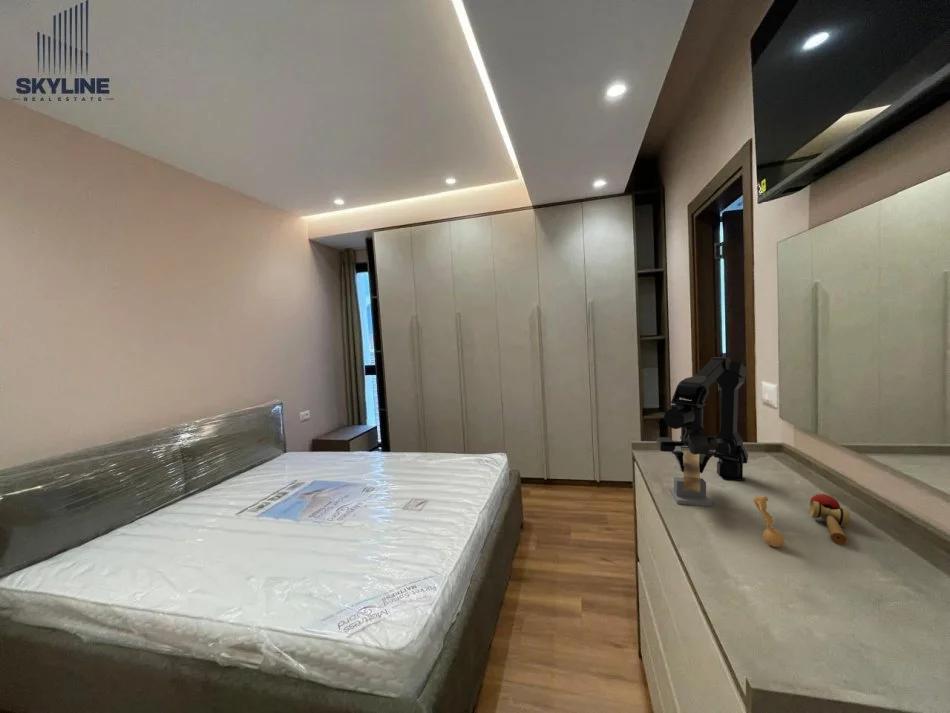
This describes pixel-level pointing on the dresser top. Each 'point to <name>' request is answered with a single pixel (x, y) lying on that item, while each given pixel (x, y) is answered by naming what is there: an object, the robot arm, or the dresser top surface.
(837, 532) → the kendama
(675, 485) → the grey stepped block
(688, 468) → the plank
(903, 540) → the dresser top surface
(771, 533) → the figurine
